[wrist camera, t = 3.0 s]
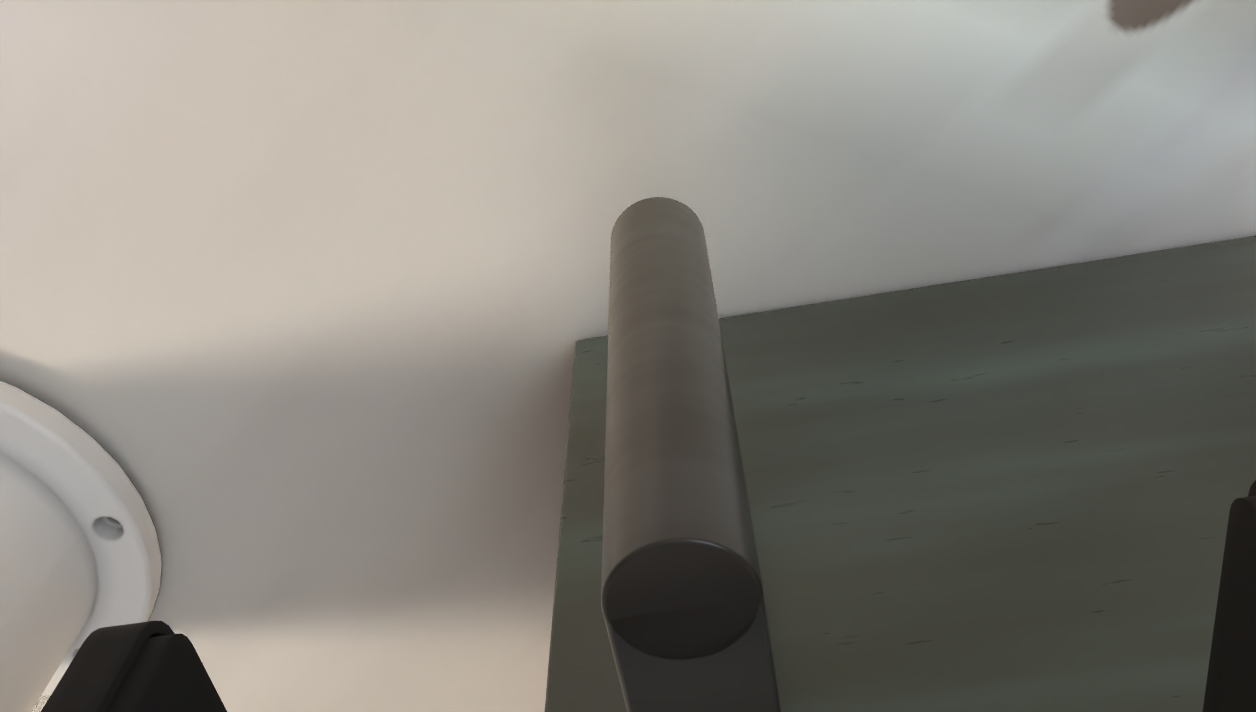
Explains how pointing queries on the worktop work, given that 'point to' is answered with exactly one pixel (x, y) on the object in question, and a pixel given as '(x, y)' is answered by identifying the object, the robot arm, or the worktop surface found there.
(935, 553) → the door
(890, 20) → the worktop surface
